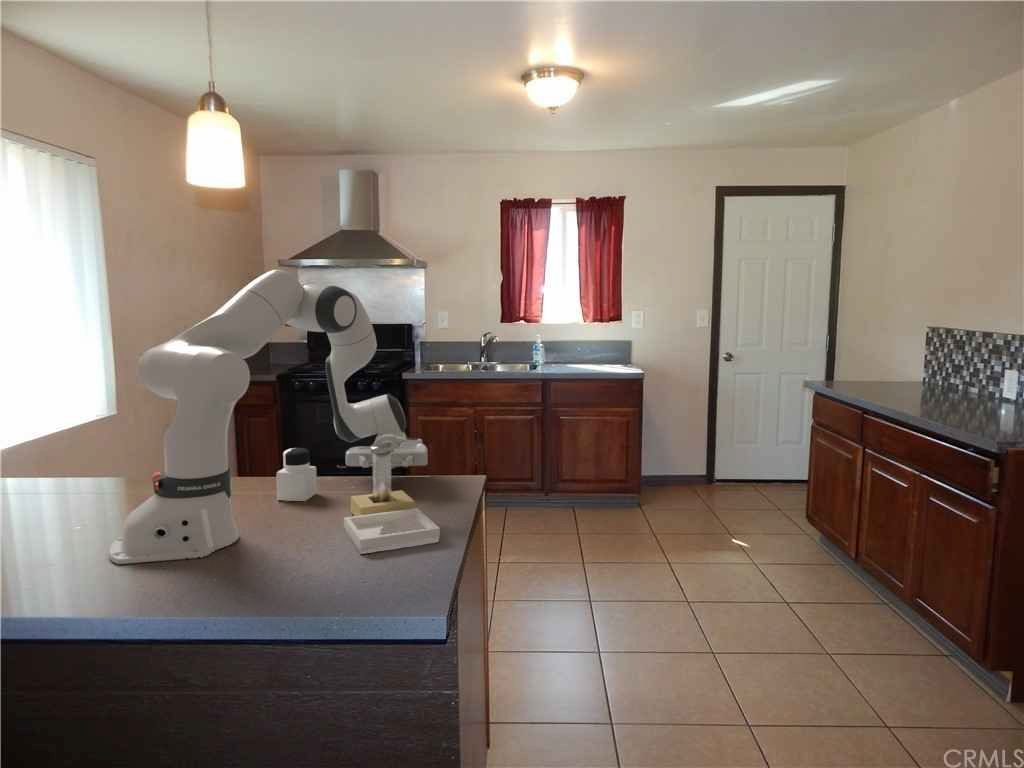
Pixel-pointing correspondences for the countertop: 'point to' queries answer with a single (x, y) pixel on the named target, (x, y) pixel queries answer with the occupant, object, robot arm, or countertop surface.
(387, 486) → the steel pin
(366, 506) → the block
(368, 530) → the tray
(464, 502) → the countertop surface
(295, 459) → the medicine bottle
